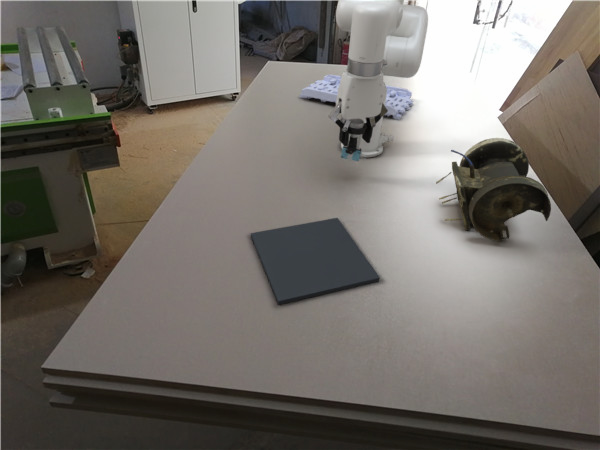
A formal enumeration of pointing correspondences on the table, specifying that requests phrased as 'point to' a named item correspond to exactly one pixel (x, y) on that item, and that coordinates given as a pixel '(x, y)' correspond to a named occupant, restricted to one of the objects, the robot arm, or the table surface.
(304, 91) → the ice tray
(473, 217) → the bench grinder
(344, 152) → the push button
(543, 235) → the table surface
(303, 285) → the mat
